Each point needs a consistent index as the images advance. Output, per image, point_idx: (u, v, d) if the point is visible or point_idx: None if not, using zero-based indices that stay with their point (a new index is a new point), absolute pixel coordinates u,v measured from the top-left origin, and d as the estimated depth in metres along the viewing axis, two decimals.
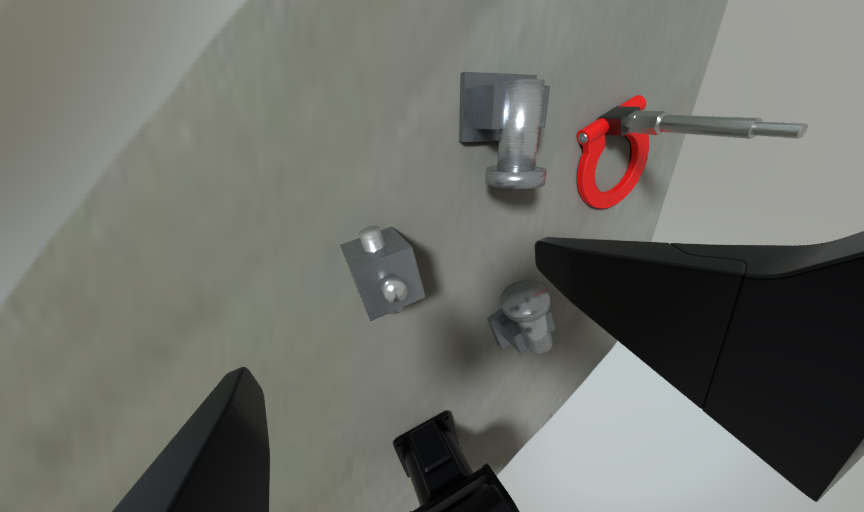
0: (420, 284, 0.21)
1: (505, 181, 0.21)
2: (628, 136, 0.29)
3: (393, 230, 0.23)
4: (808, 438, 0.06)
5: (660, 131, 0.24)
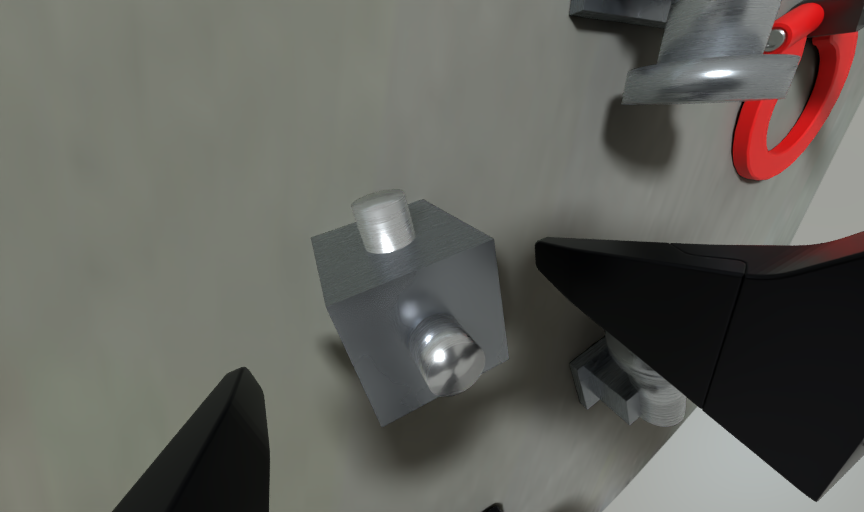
0: (502, 331, 0.09)
1: (710, 79, 0.09)
2: (825, 50, 0.17)
3: (429, 205, 0.10)
4: (808, 438, 0.06)
5: None
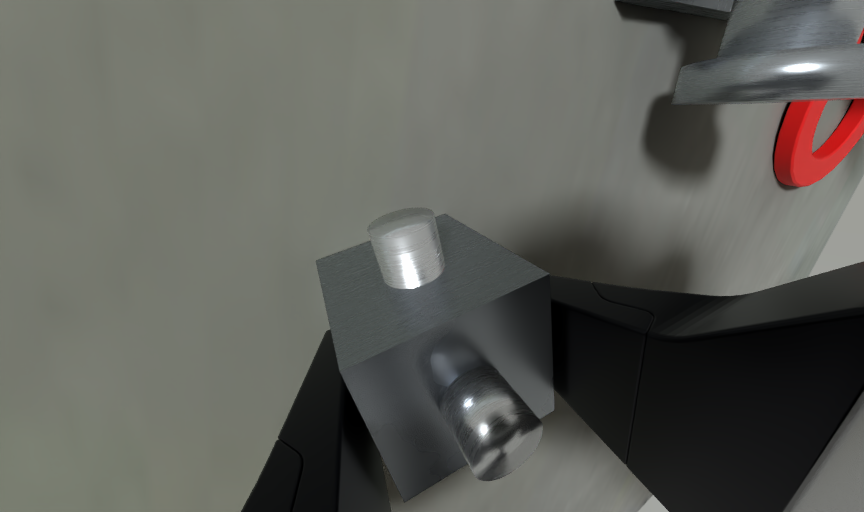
0: (549, 380, 0.07)
1: (799, 74, 0.07)
2: None
3: (454, 223, 0.09)
4: None
5: None
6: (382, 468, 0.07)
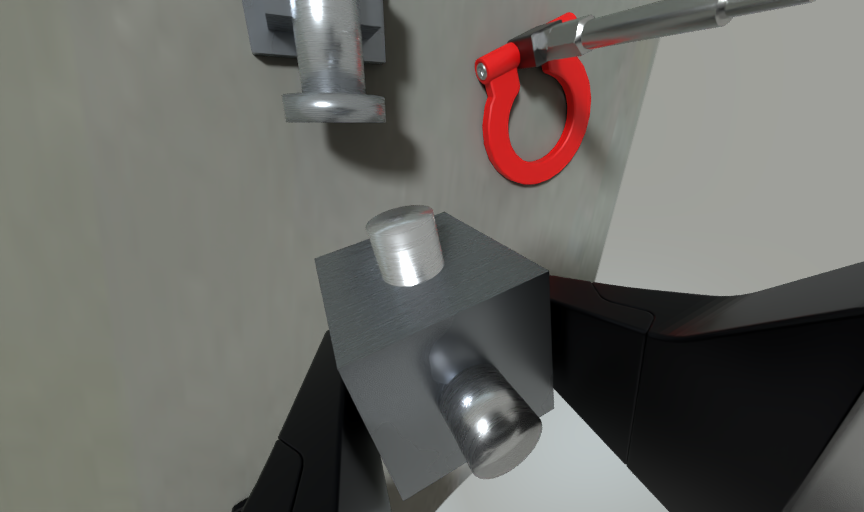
0: (548, 379, 0.07)
1: (295, 109, 0.12)
2: (558, 78, 0.20)
3: (453, 221, 0.09)
4: None
5: (585, 48, 0.15)
6: (382, 468, 0.07)
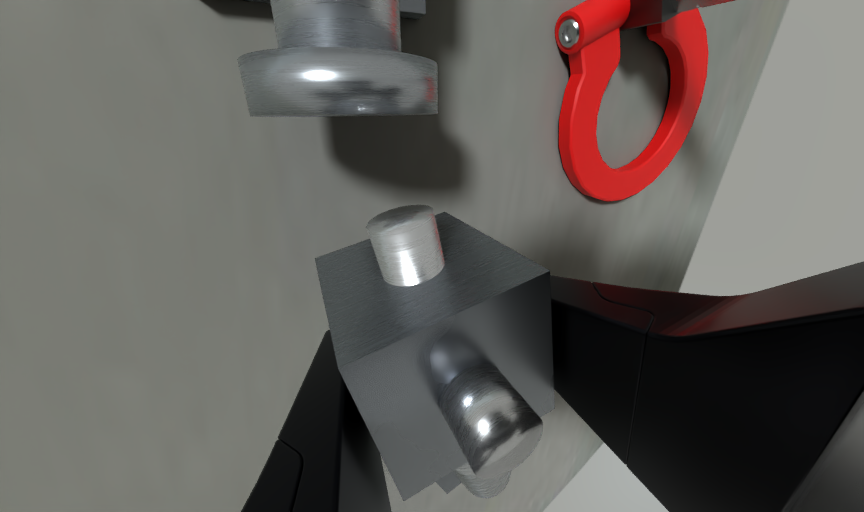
0: (549, 379, 0.07)
1: (262, 86, 0.06)
2: (667, 47, 0.14)
3: (454, 220, 0.09)
4: None
5: None
6: (382, 468, 0.07)
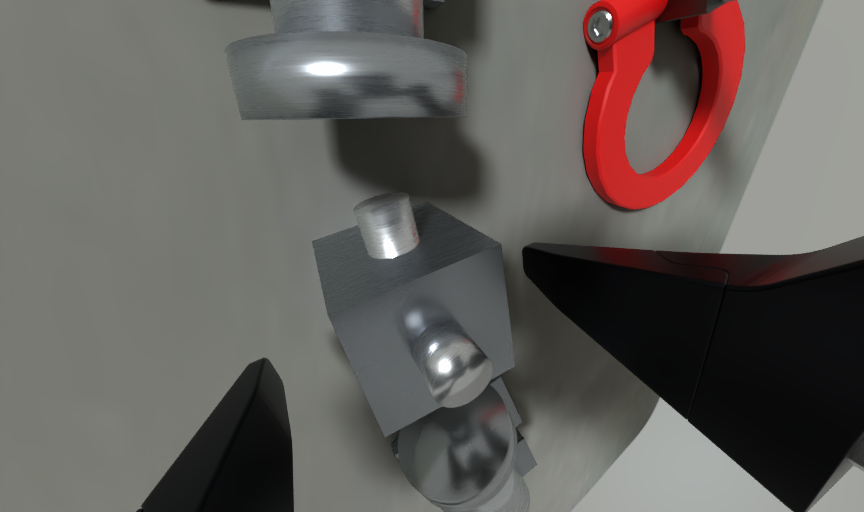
0: (508, 339, 0.08)
1: (256, 83, 0.04)
2: (702, 42, 0.13)
3: (432, 208, 0.10)
4: (792, 453, 0.06)
5: None
6: None
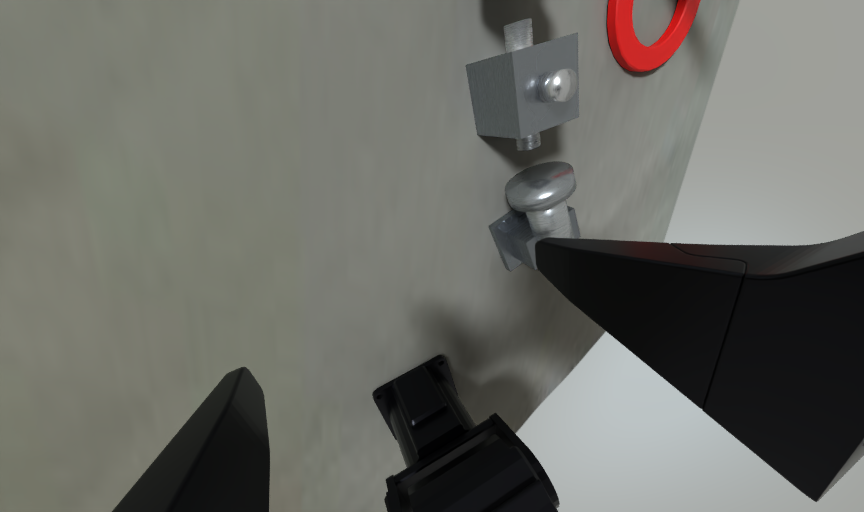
0: (577, 95, 0.17)
1: None
2: None
3: None
4: (808, 438, 0.06)
5: None
6: None
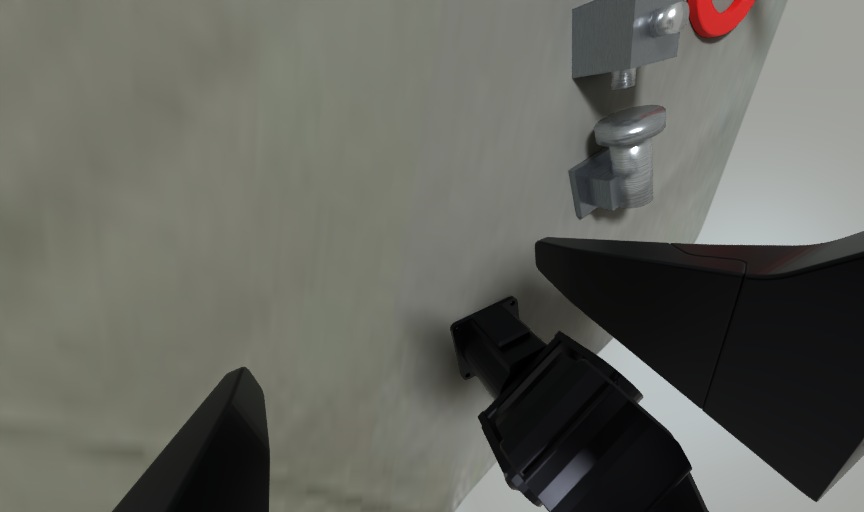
0: (678, 35, 0.19)
1: None
2: None
3: None
4: (809, 438, 0.06)
5: None
6: None
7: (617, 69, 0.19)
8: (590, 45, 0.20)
